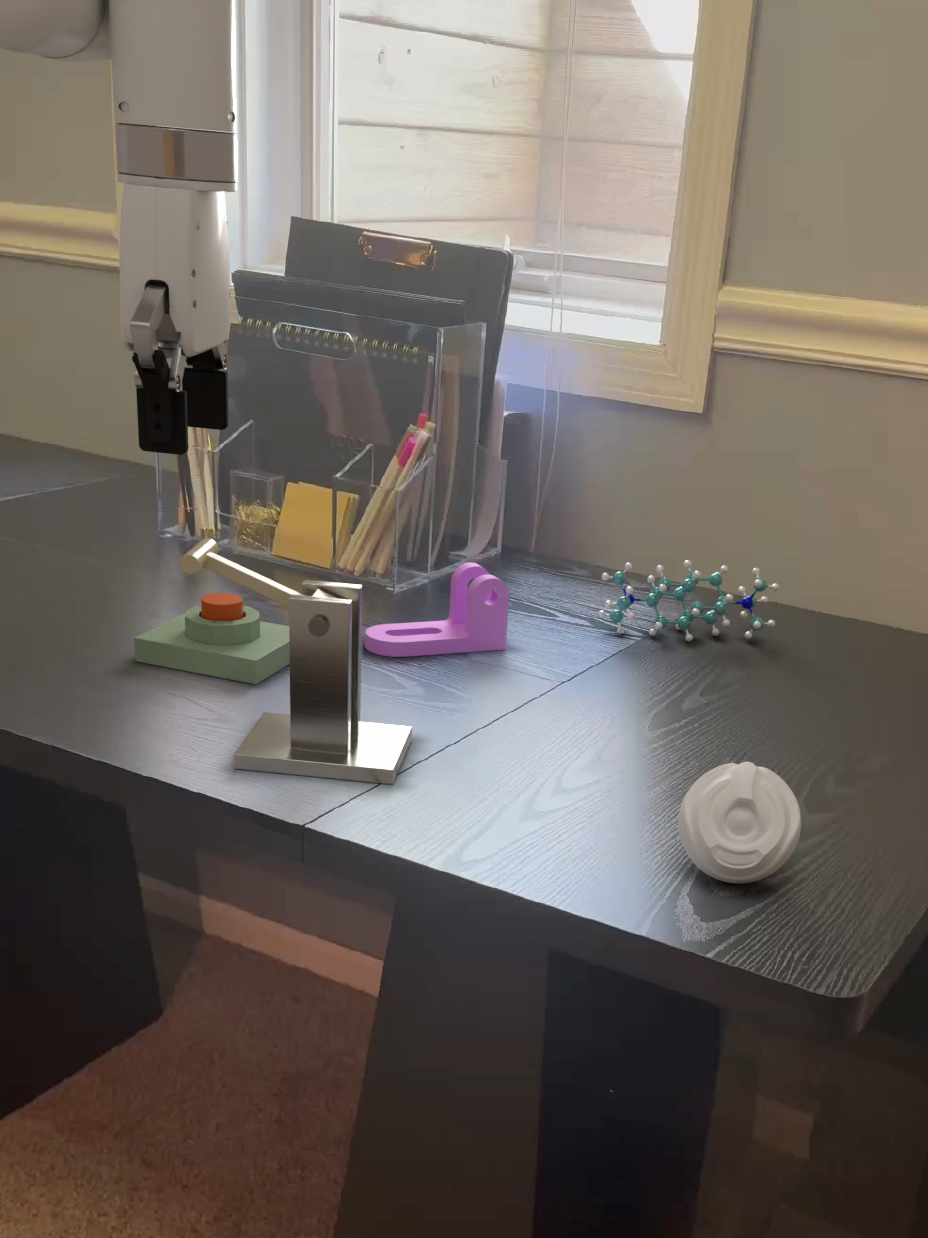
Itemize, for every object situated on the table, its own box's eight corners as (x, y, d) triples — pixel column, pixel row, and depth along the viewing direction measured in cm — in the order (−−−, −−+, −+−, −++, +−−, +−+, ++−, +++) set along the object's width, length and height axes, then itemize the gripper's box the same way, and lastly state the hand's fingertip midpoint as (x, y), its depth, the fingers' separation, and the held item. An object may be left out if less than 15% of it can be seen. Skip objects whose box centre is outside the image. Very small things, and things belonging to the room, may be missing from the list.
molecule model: (591, 620, 142) (598, 550, 138) (758, 626, 144) (769, 557, 140) (604, 646, 135) (611, 573, 131) (779, 651, 137) (791, 579, 133)
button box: (135, 661, 122) (132, 617, 120) (194, 631, 130) (192, 589, 128) (256, 684, 119) (255, 640, 117) (308, 652, 127) (308, 610, 125)
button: (194, 620, 122) (193, 600, 121) (214, 609, 125) (214, 590, 124) (230, 626, 121) (229, 606, 120) (250, 615, 124) (249, 596, 123)
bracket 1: (233, 769, 103) (228, 600, 97) (264, 725, 111) (260, 567, 104) (393, 784, 102) (397, 616, 96) (411, 740, 110) (417, 582, 104)
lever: (174, 575, 98) (184, 545, 97) (195, 558, 103) (205, 528, 101) (331, 648, 100) (343, 618, 98) (344, 627, 104) (356, 599, 103)
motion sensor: (667, 892, 90) (682, 784, 86) (675, 843, 96) (689, 740, 93) (791, 909, 89) (811, 800, 85) (789, 859, 95) (809, 755, 92)
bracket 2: (483, 631, 136) (487, 561, 133) (505, 649, 132) (510, 577, 128) (357, 640, 131) (358, 567, 128) (376, 658, 127) (377, 584, 123)
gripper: (162, 157, 96) (171, 414, 104) (69, 155, 80) (88, 457, 89) (268, 167, 95) (269, 424, 103) (195, 167, 80) (203, 468, 88)
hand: (185, 439), depth 96 cm, fingers open, 9 cm apart
